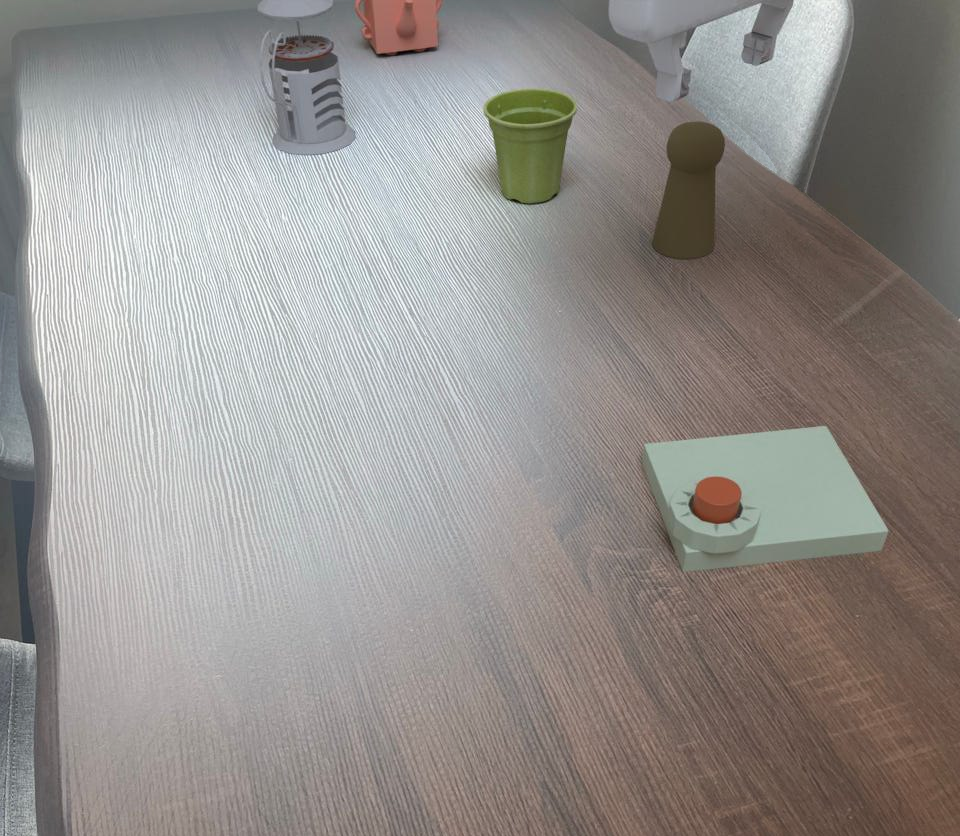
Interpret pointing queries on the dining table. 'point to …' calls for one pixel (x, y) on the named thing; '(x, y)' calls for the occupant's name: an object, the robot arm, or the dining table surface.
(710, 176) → the cork
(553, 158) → the plant pot
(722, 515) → the red push button
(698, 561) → the red button base
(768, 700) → the dining table surface
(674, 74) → the robot arm
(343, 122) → the french press
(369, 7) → the teapot
